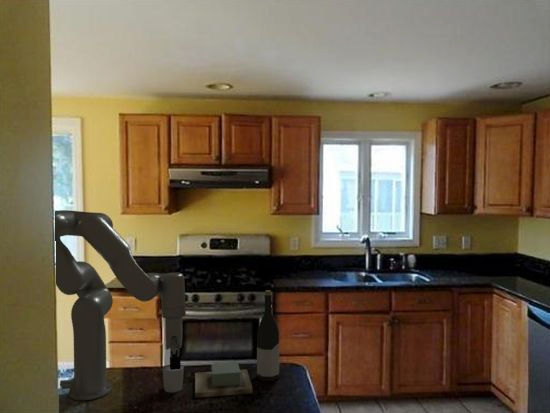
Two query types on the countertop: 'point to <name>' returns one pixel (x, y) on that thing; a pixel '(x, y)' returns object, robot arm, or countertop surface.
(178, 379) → the grey tapered cup
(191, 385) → the countertop surface
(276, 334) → the wine bottle
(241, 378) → the board
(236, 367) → the sage block
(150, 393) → the countertop surface
